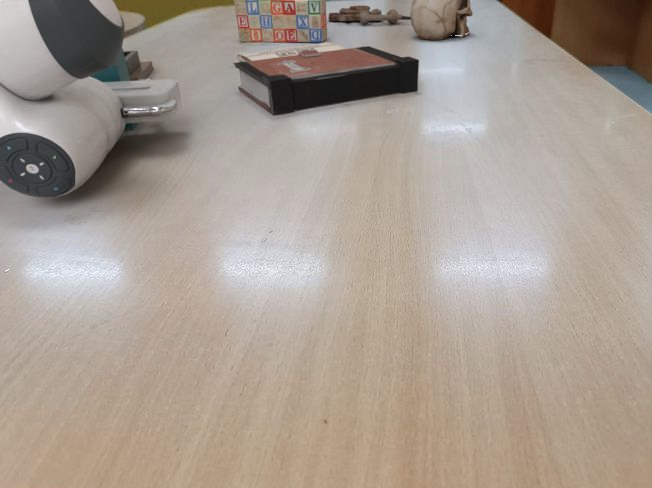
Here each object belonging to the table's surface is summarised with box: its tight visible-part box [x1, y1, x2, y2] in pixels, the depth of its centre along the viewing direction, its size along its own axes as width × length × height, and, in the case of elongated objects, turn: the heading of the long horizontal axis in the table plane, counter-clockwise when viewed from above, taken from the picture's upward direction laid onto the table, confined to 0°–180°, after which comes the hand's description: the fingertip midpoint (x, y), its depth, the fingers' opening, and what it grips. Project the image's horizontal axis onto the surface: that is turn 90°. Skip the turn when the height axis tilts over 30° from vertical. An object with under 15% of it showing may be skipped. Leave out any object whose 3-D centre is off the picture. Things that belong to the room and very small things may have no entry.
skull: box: [409, 0, 474, 41], centre depth 127 cm, size 16×17×13 cm
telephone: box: [328, 5, 411, 25], centre depth 149 cm, size 15×33×4 cm, turn 87°
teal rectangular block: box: [89, 47, 138, 131], centre depth 71 cm, size 4×5×10 cm
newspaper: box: [232, 41, 346, 65], centre depth 108 cm, size 23×12×2 cm, turn 126°
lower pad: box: [123, 50, 154, 81], centre depth 96 cm, size 12×14×4 cm
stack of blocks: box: [233, 0, 328, 43], centre depth 125 cm, size 21×6×12 cm, turn 80°
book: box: [234, 45, 420, 116], centre depth 87 cm, size 26×18×5 cm
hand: (112, 86), depth 72 cm, fingers open, 8 cm apart
